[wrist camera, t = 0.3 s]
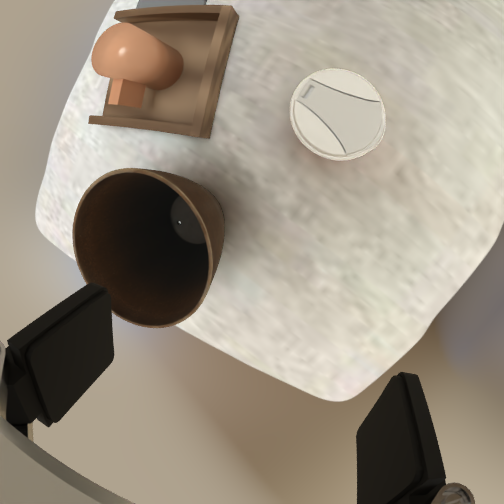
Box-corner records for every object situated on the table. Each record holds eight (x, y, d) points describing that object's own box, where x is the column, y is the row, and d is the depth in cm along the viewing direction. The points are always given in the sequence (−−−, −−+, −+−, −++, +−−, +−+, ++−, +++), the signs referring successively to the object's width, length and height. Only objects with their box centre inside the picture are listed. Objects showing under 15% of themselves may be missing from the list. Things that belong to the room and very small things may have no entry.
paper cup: (286, 135, 35) (268, 125, 22) (319, 84, 32) (320, 46, 19) (341, 171, 35) (356, 182, 22) (375, 120, 32) (407, 103, 19)
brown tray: (129, 18, 33) (116, 11, 29) (239, 16, 30) (231, 5, 27) (103, 124, 39) (88, 123, 35) (209, 138, 37) (199, 137, 33)
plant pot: (198, 135, 37) (127, 131, 22) (276, 222, 38) (250, 268, 24) (131, 211, 42) (53, 243, 27) (198, 288, 44) (145, 351, 29)
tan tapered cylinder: (147, 47, 33) (100, 25, 23) (188, 47, 33) (146, 20, 22) (133, 108, 37) (80, 102, 26) (173, 112, 36) (125, 103, 26)
